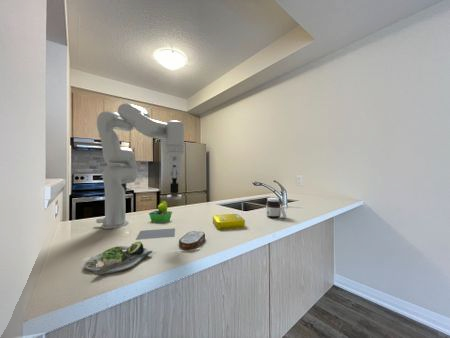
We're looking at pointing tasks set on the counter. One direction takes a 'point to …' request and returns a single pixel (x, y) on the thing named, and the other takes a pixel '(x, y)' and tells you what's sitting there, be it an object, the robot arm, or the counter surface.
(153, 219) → the fruit basket
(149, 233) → the mat
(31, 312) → the counter surface
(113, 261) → the salad plate
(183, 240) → the tin
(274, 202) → the spread jar
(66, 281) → the counter surface
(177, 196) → the wood block on base
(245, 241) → the counter surface
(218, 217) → the element tile
